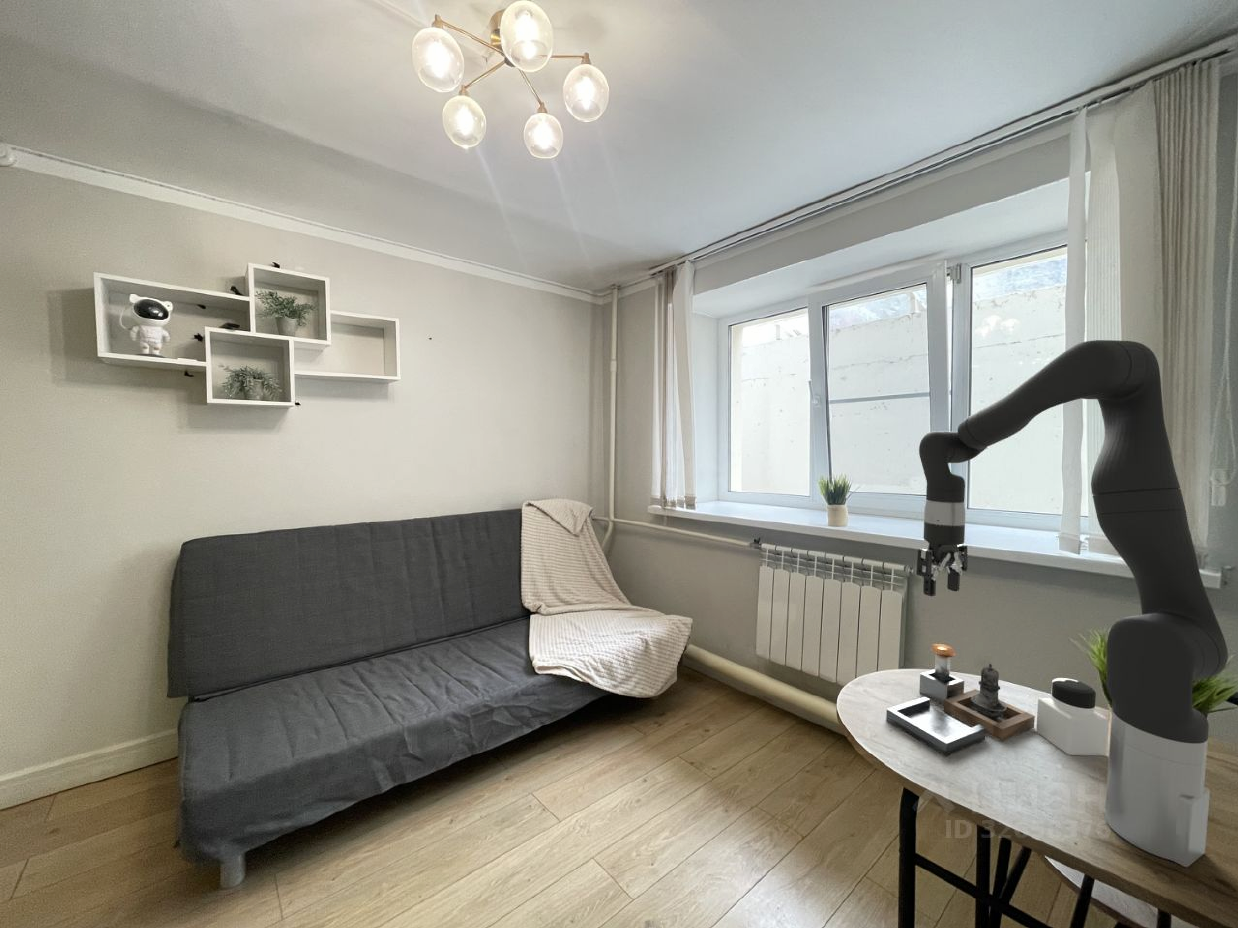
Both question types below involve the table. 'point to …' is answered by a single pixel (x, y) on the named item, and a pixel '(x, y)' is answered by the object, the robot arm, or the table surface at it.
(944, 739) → the tray
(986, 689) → the dark grey chess piece
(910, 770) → the table surface
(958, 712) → the socket collar
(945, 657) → the copper mushroom knob
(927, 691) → the housing
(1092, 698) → the medicine bottle
